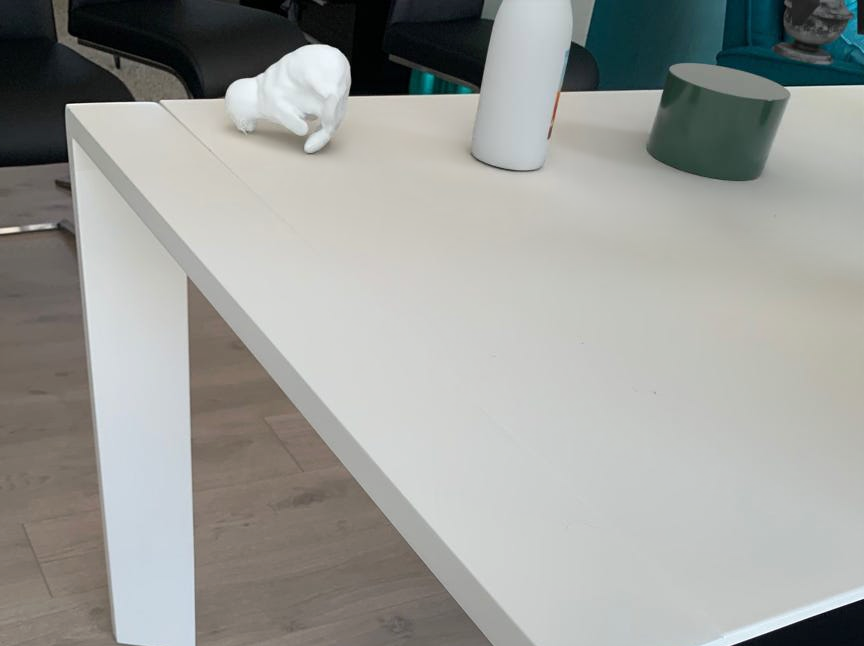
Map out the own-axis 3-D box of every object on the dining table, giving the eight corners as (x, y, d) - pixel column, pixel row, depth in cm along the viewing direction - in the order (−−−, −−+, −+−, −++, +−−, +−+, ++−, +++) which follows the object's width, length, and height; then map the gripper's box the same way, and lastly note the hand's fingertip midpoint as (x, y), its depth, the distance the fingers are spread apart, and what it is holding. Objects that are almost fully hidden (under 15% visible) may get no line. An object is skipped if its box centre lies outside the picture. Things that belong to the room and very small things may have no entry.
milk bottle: (534, 178, 100) (589, -64, 87) (460, 160, 101) (503, -82, 88) (550, 158, 106) (603, -73, 93) (479, 141, 107) (522, -89, 94)
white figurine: (344, 56, 90) (212, 45, 91) (342, 158, 96) (218, 147, 97) (356, 41, 95) (231, 31, 96) (354, 139, 101) (236, 129, 102)
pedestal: (772, 162, 116) (800, 86, 111) (748, 190, 107) (778, 107, 102) (664, 132, 120) (686, 56, 114) (632, 156, 111) (655, 75, 105)
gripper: (904, -198, 89) (907, 60, 88) (711, -234, 86) (712, 34, 85) (968, -277, 82) (972, 4, 81) (759, -320, 78) (761, -27, 77)
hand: (838, 19), depth 83 cm, fingers closed on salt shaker, 5 cm apart
